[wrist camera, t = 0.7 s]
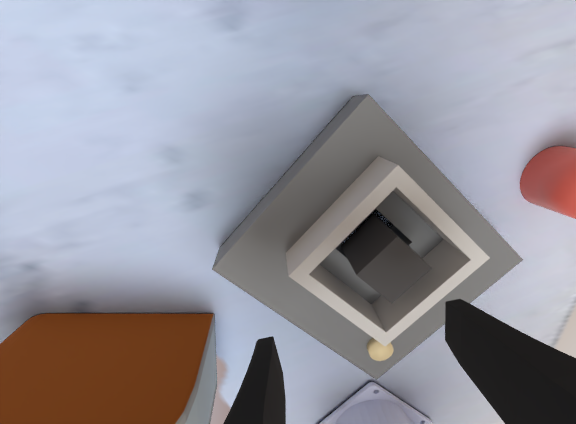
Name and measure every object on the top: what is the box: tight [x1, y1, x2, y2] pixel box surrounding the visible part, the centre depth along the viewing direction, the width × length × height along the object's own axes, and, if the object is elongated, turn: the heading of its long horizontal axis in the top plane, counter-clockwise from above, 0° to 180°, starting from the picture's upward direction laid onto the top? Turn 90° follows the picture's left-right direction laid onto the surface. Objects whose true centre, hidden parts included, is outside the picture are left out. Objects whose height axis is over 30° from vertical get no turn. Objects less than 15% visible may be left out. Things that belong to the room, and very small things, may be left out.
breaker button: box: [341, 214, 432, 303], centre depth 17 cm, size 3×3×4 cm
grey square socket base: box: [212, 94, 523, 380], centre depth 19 cm, size 16×14×6 cm
